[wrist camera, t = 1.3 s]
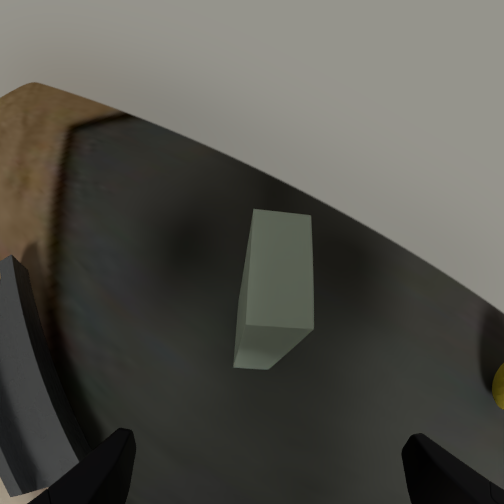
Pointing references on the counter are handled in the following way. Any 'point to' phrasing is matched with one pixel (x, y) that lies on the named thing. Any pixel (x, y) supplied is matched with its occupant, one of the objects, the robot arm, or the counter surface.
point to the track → (31, 395)
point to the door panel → (275, 289)
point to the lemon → (499, 387)
